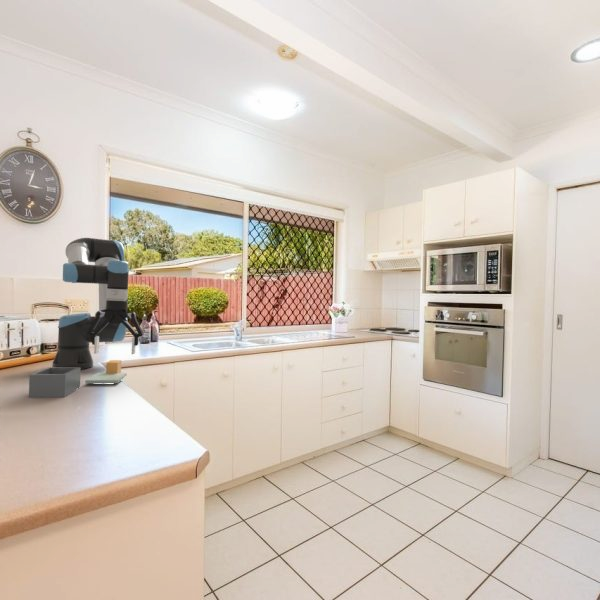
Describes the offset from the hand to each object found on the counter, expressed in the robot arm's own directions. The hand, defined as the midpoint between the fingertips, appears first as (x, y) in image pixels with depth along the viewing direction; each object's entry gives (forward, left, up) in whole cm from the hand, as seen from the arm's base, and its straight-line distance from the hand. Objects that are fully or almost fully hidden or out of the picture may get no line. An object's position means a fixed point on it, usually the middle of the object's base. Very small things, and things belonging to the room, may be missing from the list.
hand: (115, 353), depth 146 cm
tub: (+25, -11, -9) cm, 28 cm away
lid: (+7, 0, -9) cm, 11 cm away
